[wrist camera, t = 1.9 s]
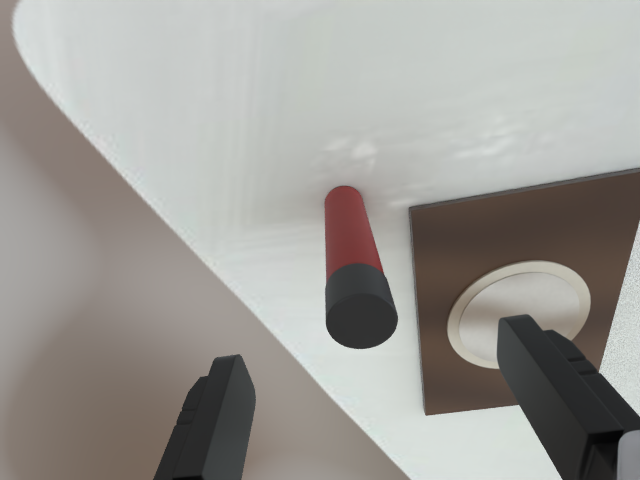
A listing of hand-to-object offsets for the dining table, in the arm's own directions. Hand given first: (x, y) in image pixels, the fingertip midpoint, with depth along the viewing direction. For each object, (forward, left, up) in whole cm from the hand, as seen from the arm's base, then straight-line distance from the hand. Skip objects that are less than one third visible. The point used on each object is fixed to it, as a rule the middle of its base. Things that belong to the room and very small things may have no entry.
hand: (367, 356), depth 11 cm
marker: (0, 0, -12) cm, 12 cm away
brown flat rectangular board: (+11, +11, -12) cm, 20 cm away
